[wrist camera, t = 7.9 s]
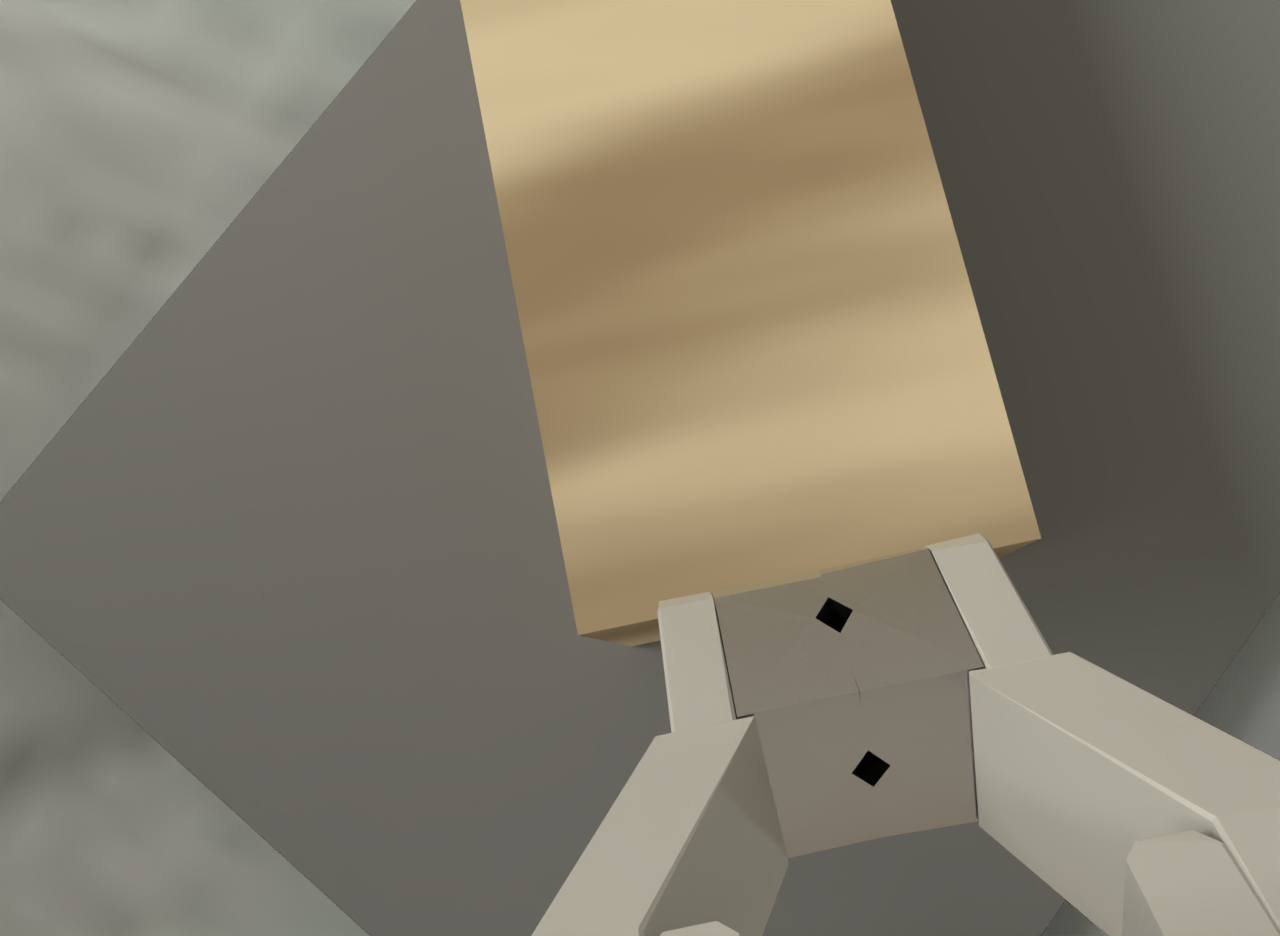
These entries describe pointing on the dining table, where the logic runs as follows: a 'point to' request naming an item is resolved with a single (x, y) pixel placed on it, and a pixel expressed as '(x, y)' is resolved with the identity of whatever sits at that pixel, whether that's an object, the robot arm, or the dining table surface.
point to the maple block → (736, 296)
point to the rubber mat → (521, 494)
